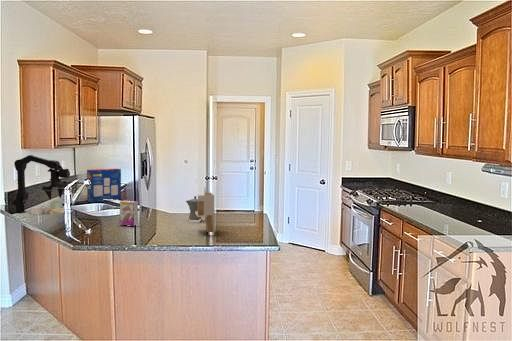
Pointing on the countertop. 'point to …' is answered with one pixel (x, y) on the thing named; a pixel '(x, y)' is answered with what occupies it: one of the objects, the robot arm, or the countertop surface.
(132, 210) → the candy bar box
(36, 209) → the white cube
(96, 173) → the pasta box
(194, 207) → the coffeepot
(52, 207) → the sage cube
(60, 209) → the birch block
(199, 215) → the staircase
